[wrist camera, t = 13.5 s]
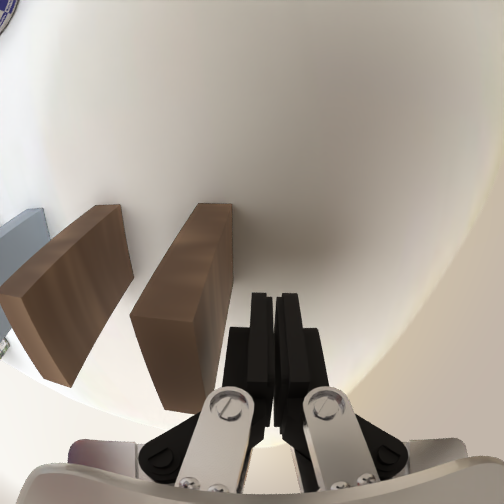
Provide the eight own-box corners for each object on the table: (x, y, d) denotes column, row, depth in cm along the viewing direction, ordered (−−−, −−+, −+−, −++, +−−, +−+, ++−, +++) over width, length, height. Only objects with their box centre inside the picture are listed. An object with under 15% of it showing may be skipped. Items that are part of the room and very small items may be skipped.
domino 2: (120, 204, 15) (20, 297, 7) (134, 277, 18) (71, 388, 10) (95, 205, 15) (-6, 292, 7) (110, 276, 18) (43, 378, 10)
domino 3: (231, 203, 15) (192, 321, 7) (233, 283, 17) (209, 416, 9) (198, 203, 15) (129, 314, 7) (203, 281, 17) (164, 409, 10)
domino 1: (44, 270, 18) (-24, 348, 10) (27, 209, 15) (-61, 276, 7) (60, 271, 18) (-9, 355, 10) (42, 208, 15) (-50, 280, 7)
